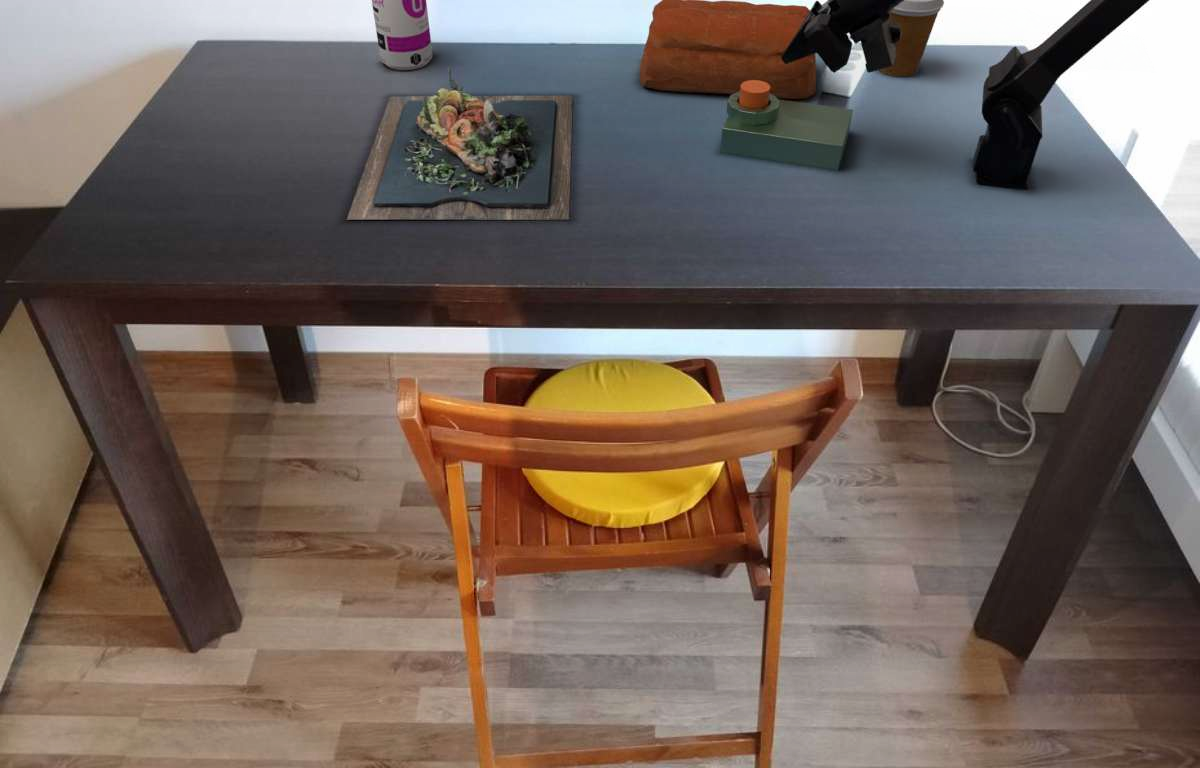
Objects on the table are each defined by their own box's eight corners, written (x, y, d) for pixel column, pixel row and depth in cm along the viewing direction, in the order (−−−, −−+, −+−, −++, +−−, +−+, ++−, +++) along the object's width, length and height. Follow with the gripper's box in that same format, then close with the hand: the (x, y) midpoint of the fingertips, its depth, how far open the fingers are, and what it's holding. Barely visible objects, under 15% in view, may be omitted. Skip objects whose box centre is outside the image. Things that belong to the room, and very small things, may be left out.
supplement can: (443, 57, 157) (433, -39, 147) (409, 76, 152) (396, -23, 142) (404, 46, 160) (391, -49, 151) (370, 64, 155) (354, -33, 145)
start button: (770, 99, 134) (772, 82, 133) (765, 112, 132) (767, 94, 130) (742, 95, 135) (743, 78, 134) (736, 108, 133) (737, 90, 131)
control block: (848, 133, 138) (855, 97, 134) (838, 171, 130) (844, 133, 126) (733, 117, 142) (737, 81, 138) (716, 152, 134) (720, 115, 130)
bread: (815, 105, 144) (826, 35, 137) (635, 93, 147) (637, 23, 140) (814, 62, 156) (824, -5, 149) (647, 52, 159) (650, -15, 152)
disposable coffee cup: (855, 60, 156) (868, -17, 148) (907, 53, 159) (924, -23, 151) (885, 84, 150) (901, 6, 142) (939, 76, 152) (958, -2, 144)
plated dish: (385, 96, 147) (379, 49, 142) (573, 97, 147) (572, 50, 142) (346, 225, 121) (336, 172, 116) (574, 225, 121) (574, 172, 117)
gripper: (917, 66, 114) (809, 138, 124) (928, 10, 128) (830, 78, 137) (861, -10, 111) (754, 70, 121) (879, -60, 124) (781, 16, 134)
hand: (783, 60), depth 128 cm, fingers closed
